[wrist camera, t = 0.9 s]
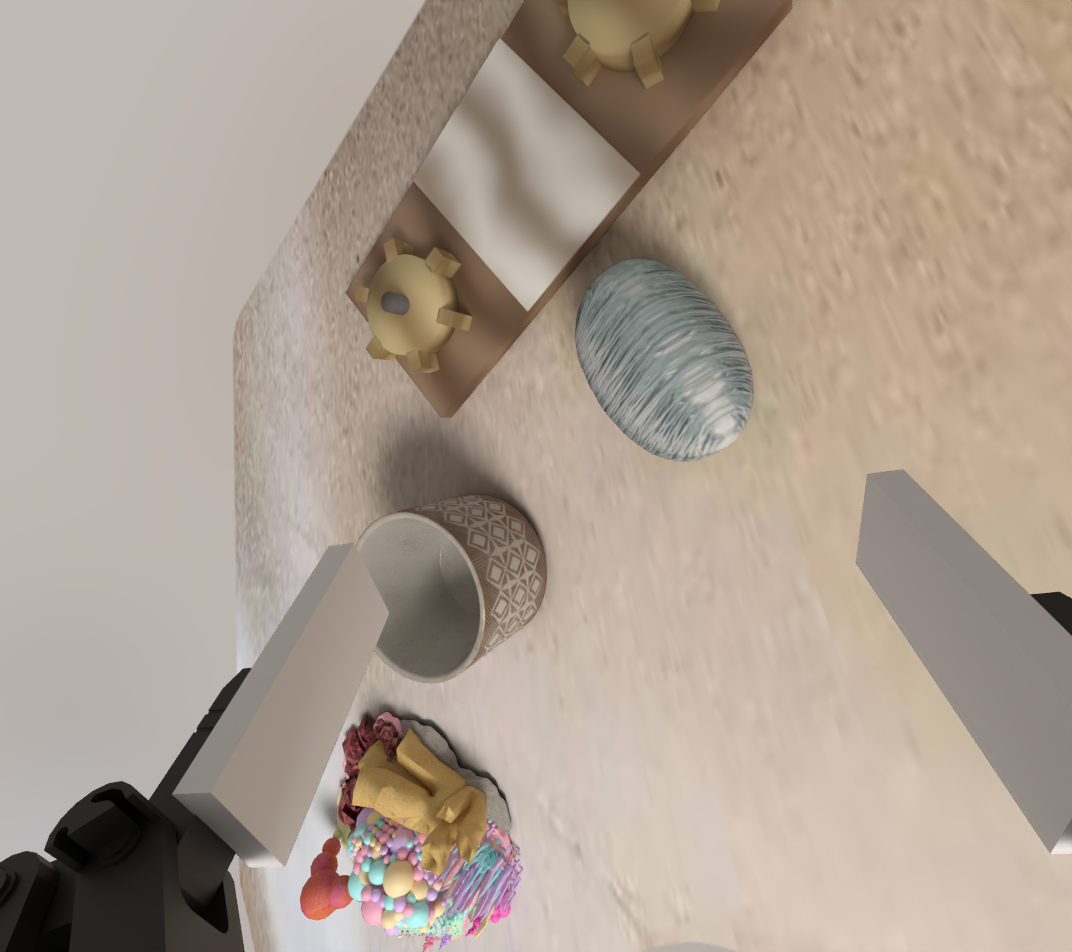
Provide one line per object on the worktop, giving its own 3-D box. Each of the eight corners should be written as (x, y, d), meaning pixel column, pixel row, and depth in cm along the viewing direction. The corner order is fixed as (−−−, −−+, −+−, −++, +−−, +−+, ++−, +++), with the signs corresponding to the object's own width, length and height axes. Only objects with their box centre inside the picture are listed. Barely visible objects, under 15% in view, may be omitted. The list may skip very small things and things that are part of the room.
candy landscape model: (355, 674, 57) (280, 718, 49) (542, 781, 47) (485, 858, 39) (337, 858, 63) (266, 924, 55) (500, 990, 52) (443, 1095, 44)
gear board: (625, -131, 35) (595, -218, 30) (797, 1, 31) (794, -73, 26) (355, 298, 51) (307, 287, 46) (448, 420, 47) (407, 421, 42)
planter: (529, 476, 44) (454, 494, 35) (570, 622, 44) (505, 678, 34) (419, 508, 50) (331, 531, 41) (455, 637, 50) (373, 688, 41)
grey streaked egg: (539, 326, 38) (549, 289, 28) (649, 257, 38) (698, 196, 28) (633, 483, 40) (674, 501, 30) (740, 416, 39) (818, 412, 30)
